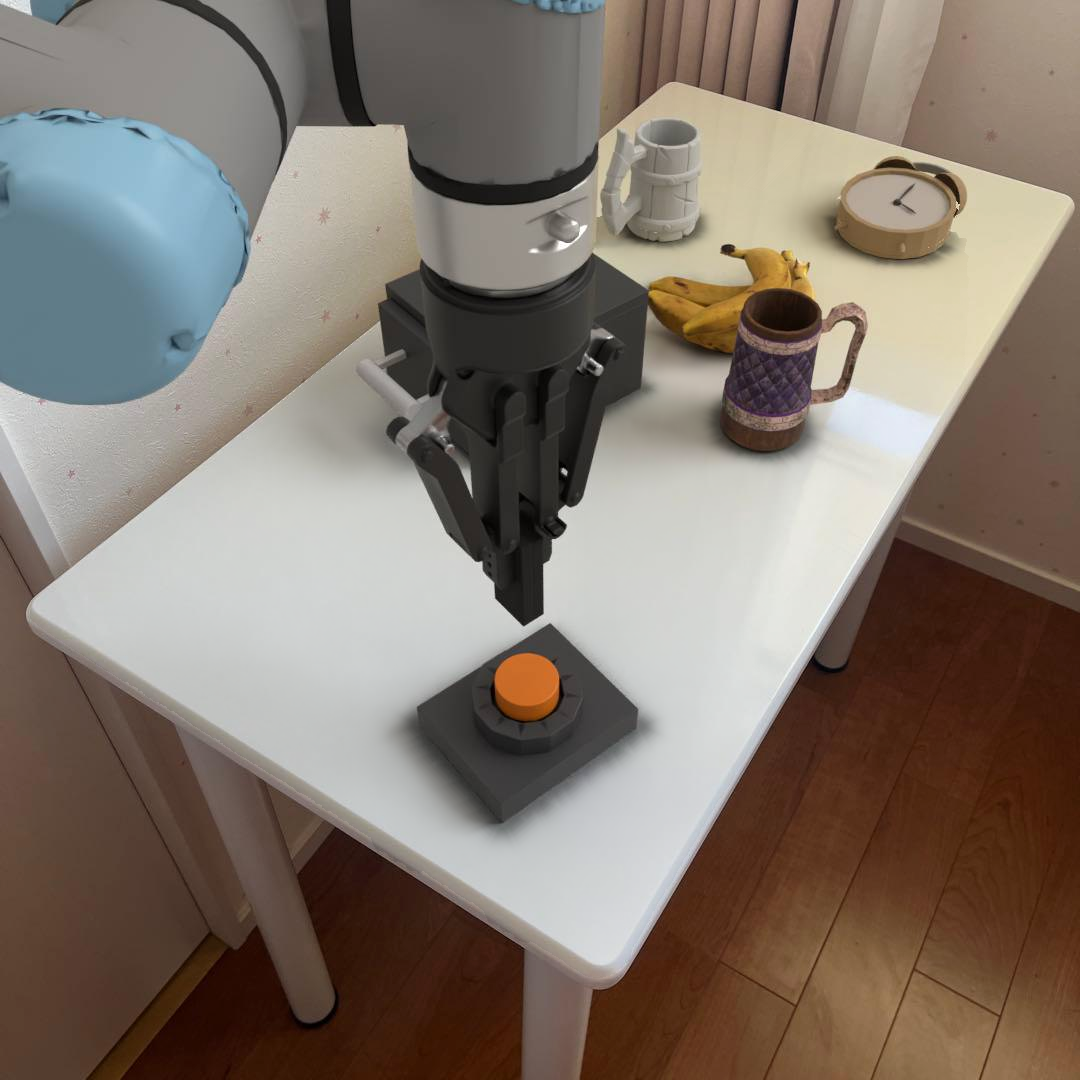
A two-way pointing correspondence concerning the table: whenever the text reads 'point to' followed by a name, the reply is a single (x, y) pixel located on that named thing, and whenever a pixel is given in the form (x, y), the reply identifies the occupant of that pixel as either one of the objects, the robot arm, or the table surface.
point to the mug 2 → (781, 367)
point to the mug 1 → (655, 180)
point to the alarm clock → (900, 208)
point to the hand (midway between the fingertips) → (519, 606)
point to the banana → (723, 297)
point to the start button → (526, 687)
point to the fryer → (614, 311)
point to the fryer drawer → (404, 366)
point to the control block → (526, 726)
